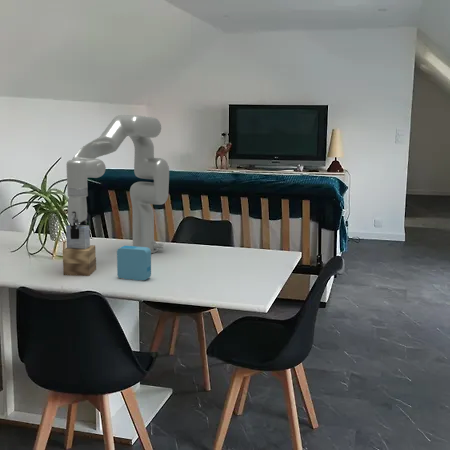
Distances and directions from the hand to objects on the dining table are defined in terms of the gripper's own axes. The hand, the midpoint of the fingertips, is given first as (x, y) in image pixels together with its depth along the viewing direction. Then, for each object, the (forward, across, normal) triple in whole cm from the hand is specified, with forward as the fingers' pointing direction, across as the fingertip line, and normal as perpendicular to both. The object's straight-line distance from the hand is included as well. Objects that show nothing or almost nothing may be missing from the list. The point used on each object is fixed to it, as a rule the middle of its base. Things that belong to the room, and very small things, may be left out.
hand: (79, 236), depth 230 cm
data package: (+15, +6, +23) cm, 28 cm away
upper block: (+10, 0, 0) cm, 10 cm away
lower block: (+14, 0, 0) cm, 15 cm away
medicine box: (+5, 0, 0) cm, 5 cm away
